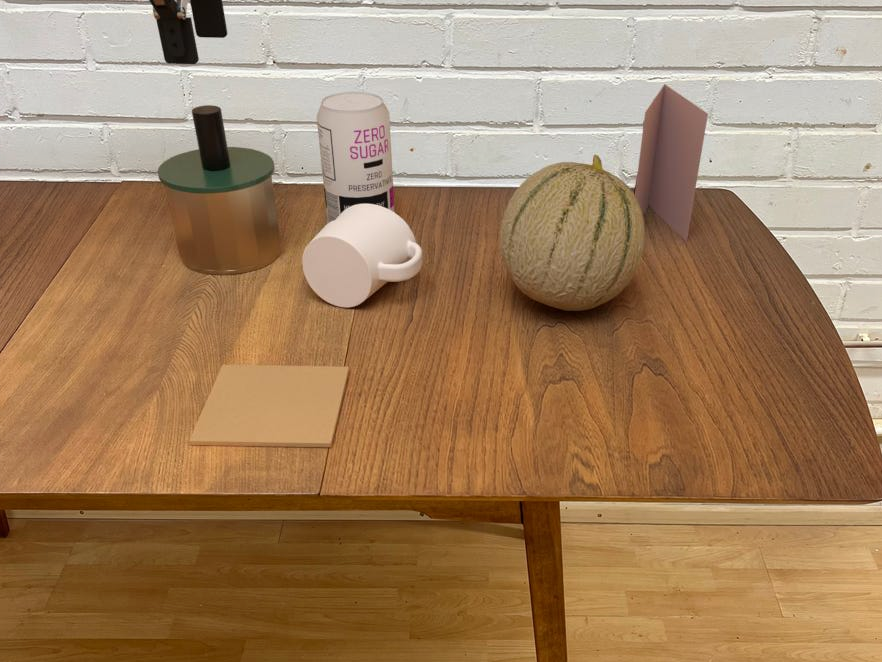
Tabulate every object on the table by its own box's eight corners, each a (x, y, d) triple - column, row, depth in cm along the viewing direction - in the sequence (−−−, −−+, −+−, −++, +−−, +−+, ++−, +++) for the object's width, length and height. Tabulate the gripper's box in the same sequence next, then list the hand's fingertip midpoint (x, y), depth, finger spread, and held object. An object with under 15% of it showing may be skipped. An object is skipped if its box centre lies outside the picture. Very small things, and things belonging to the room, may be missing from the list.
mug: (299, 299, 95) (290, 228, 90) (339, 263, 102) (333, 195, 97) (402, 319, 92) (398, 247, 87) (436, 280, 99) (435, 211, 94)
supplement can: (351, 210, 113) (340, 86, 104) (407, 222, 111) (402, 96, 101) (315, 233, 108) (300, 105, 98) (373, 247, 105) (364, 116, 96)
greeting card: (641, 204, 116) (657, 83, 106) (698, 212, 114) (719, 90, 104) (622, 239, 108) (637, 111, 98) (683, 249, 106) (705, 119, 96)
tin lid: (216, 208, 91) (202, 137, 87) (135, 182, 97) (119, 113, 92) (298, 172, 99) (290, 105, 95) (220, 149, 105) (209, 85, 100)
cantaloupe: (474, 316, 93) (476, 174, 83) (529, 260, 103) (536, 128, 93) (609, 350, 88) (627, 203, 78) (653, 287, 98) (673, 151, 88)
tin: (230, 284, 98) (215, 200, 91) (160, 257, 102) (141, 176, 96) (301, 247, 105) (291, 167, 99) (232, 224, 110) (219, 146, 104)
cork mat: (189, 445, 75) (188, 440, 75) (223, 368, 84) (222, 364, 84) (331, 447, 75) (331, 443, 75) (349, 370, 84) (349, 366, 84)
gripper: (151, -167, 86) (188, 27, 97) (77, -150, 72) (130, 73, 83) (228, -167, 85) (256, 28, 96) (168, -149, 72) (208, 75, 83)
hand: (198, 49), depth 90 cm, fingers open, 9 cm apart
